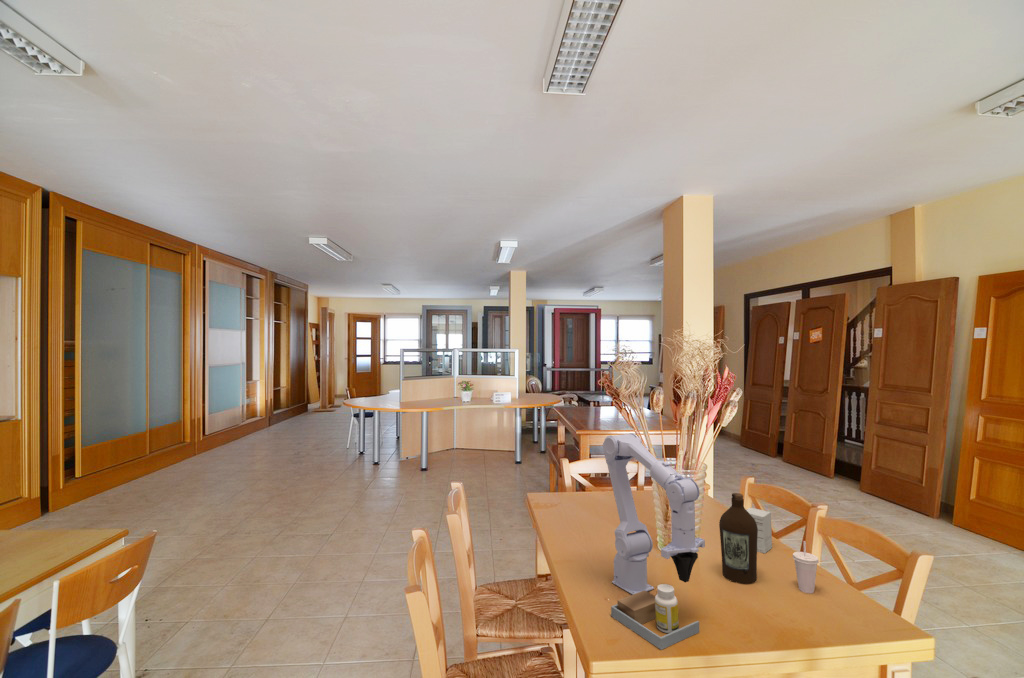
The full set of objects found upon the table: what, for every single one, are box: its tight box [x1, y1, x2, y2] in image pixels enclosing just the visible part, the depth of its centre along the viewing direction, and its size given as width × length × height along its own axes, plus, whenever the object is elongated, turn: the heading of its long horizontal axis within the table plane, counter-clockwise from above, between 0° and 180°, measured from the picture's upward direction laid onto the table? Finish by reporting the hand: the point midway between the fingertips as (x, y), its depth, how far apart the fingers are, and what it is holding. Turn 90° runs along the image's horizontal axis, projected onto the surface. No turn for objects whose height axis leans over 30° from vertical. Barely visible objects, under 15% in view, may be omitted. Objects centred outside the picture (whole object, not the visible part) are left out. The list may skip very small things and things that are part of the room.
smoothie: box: [792, 540, 820, 594], centre depth 135 cm, size 6×6×14 cm
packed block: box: [617, 590, 656, 625], centre depth 122 cm, size 6×10×4 cm, turn 121°
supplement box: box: [746, 507, 773, 554], centre depth 165 cm, size 7×7×13 cm
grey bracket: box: [610, 604, 700, 651], centre depth 118 cm, size 16×14×2 cm
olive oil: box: [718, 492, 758, 585], centre depth 144 cm, size 11×11×25 cm
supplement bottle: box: [654, 583, 680, 634], centre depth 117 cm, size 5×5×10 cm
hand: (683, 580), depth 120 cm, fingers closed
